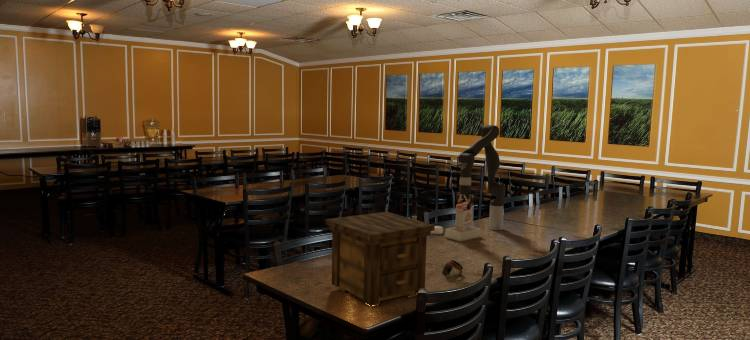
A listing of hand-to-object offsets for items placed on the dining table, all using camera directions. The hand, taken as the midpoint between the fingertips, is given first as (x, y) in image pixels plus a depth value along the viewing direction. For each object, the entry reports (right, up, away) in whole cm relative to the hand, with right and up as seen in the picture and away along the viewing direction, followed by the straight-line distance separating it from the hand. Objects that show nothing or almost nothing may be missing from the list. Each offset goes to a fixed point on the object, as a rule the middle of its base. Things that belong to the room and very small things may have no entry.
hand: (464, 208), depth 343 cm
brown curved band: (-20, -28, -76) cm, 84 cm away
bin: (0, -19, +2) cm, 19 cm away
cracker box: (0, -17, +2) cm, 17 cm away
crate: (-57, -31, -105) cm, 123 cm away
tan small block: (-16, -17, +14) cm, 28 cm away
